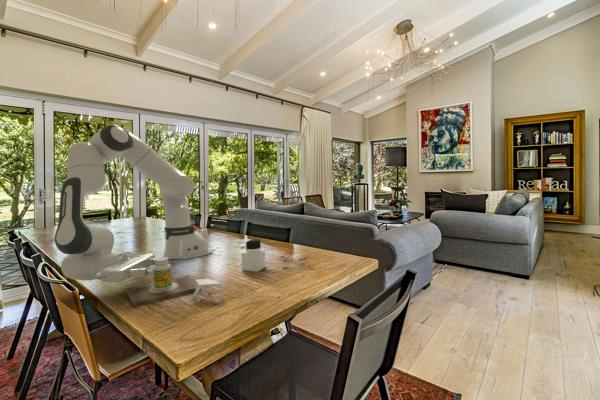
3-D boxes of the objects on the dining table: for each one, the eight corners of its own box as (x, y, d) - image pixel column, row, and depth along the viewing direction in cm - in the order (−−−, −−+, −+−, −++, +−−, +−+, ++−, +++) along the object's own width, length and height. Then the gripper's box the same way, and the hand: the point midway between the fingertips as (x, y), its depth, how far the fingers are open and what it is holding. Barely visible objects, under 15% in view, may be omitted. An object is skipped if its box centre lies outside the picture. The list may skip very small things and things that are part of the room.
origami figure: (183, 302, 92) (182, 286, 92) (196, 291, 101) (195, 277, 100) (221, 304, 91) (221, 288, 90) (231, 293, 99) (231, 278, 99)
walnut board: (188, 279, 113) (188, 275, 113) (201, 290, 101) (200, 286, 101) (126, 292, 101) (126, 288, 101) (133, 306, 90) (133, 302, 89)
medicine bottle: (265, 266, 127) (264, 238, 126) (257, 272, 120) (256, 242, 119) (250, 265, 129) (249, 237, 128) (241, 270, 122) (240, 240, 121)
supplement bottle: (173, 283, 104) (172, 256, 103) (170, 289, 99) (169, 260, 98) (156, 285, 103) (154, 257, 102) (152, 291, 98) (150, 261, 97)
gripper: (89, 267, 91) (134, 267, 90) (131, 250, 111) (168, 250, 110) (91, 287, 91) (135, 288, 91) (132, 267, 112) (169, 267, 111)
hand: (153, 267), depth 101 cm, fingers open, 8 cm apart
